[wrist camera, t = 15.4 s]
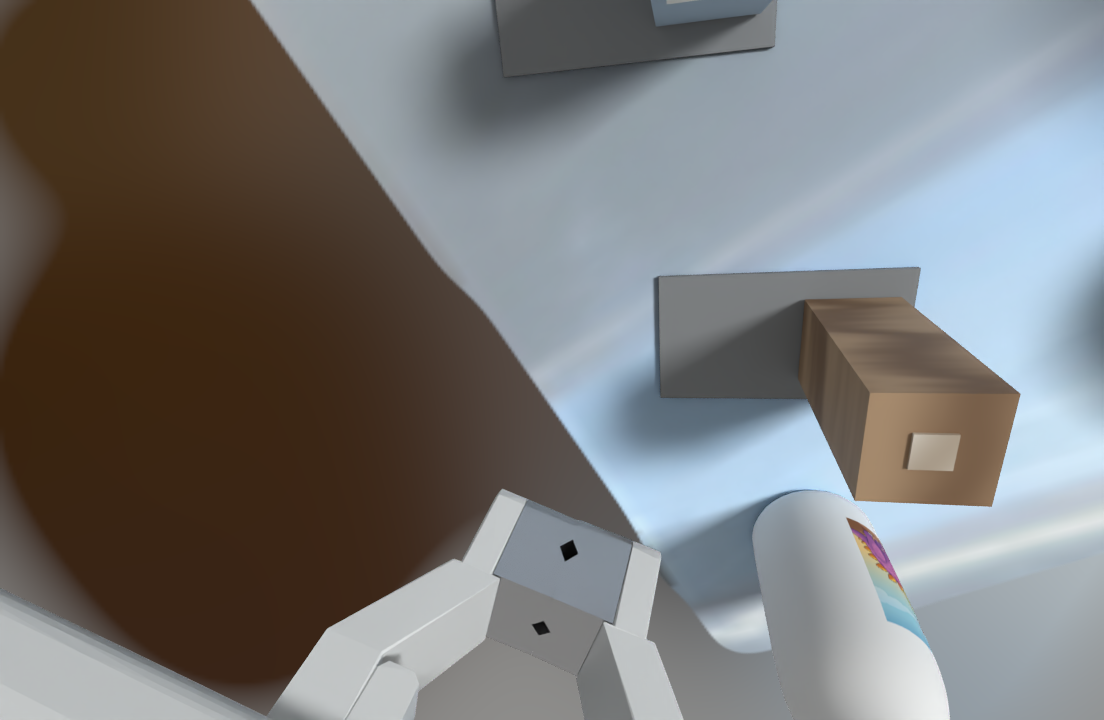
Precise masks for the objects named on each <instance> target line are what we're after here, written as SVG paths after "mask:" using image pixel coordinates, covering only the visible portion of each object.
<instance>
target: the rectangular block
mask: <svg viewBox="0 0 1104 720" xmlns="http://www.w3.org/2000/svg"><path fill="white" fill-rule="evenodd" d="M771 1H772V0H651V5H652V10H653V15H654V20H655V25H656V27H658V26H666V25H674V24H682V23H690V22H698V21H706V20H714V19H722V18H730V17H738V16H746V15H753V14H761V13H762V11H763V10H764V9H765V8H766V7H767V6H768V5H769V4H770V3H771Z"/></svg>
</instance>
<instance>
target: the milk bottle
mask: <svg viewBox="0 0 1104 720" xmlns="http://www.w3.org/2000/svg"><path fill="white" fill-rule="evenodd" d="M752 542H753V549H754V556H755V562H756V567H757V573H758V578H759V583H760V589H761V594H762V600H763V605H764V610H765V616H766V621H767V626H768V631H769V636H770V641H771V646H772V651H773V656H774V660H775V665H776V669H777V673H778V677H779V682H780V685H781V689H782V692H783V695H784V698H785V701H786V704H787V706H788V708H789V711H790V713H791V715H792V717H793V719H794V720H950V716H949V706H948V699H947V694H946V690H945V686H944V683H943V680H942V676H941V673H940V670H939V667H938V665H937V663H936V661H935V658H934V656H933V653H932V651H931V649H930V646H929V644H928V642H927V639H926V637H925V635H924V632H923V630H922V628H921V626H920V624H919V622H918V620H917V618H916V616H915V613H914V611H913V609H912V607H911V605H910V603H909V600H908V598H907V596H906V594H905V592H904V590H903V588H902V586H901V583H900V581H899V579H898V577H897V575H896V573H895V571H894V569H893V567H892V565H891V563H890V560H889V558H888V556H887V554H886V552H885V550H884V548H883V546H882V544H881V542H880V540H879V538H878V536H877V534H876V532H875V530H874V528H873V526H872V524H871V522H870V520H869V519H868V517H867V515H866V514H865V513H864V512H863V511H862V510H861V509H860V508H859V507H858V506H857V505H855V504H854V503H852V502H851V501H849V500H848V499H846V498H843V497H841V496H839V495H837V494H833V493H830V492H827V491H818V490H803V491H799V492H792V493H790V494H787V495H784V496H781V497H780V498H778V499H776V500H774V501H773V502H771V503H770V504H769V505H768V506H767V507H765V509H764V510H763V511H762V512H761V514H760V515H759V517H758V519H757V520H756V522H755V525H754V528H753V533H752Z"/></svg>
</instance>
